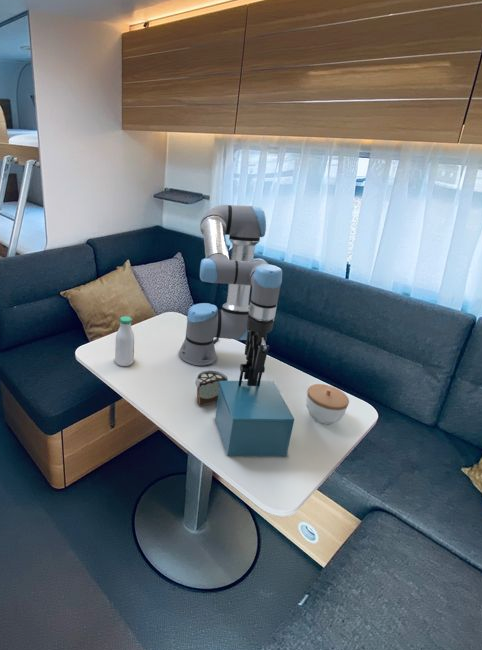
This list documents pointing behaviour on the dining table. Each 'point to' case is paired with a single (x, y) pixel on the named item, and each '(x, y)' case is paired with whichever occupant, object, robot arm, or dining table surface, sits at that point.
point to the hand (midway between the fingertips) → (249, 381)
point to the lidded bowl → (326, 403)
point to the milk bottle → (124, 343)
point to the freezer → (251, 434)
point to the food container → (208, 386)
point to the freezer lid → (255, 399)
